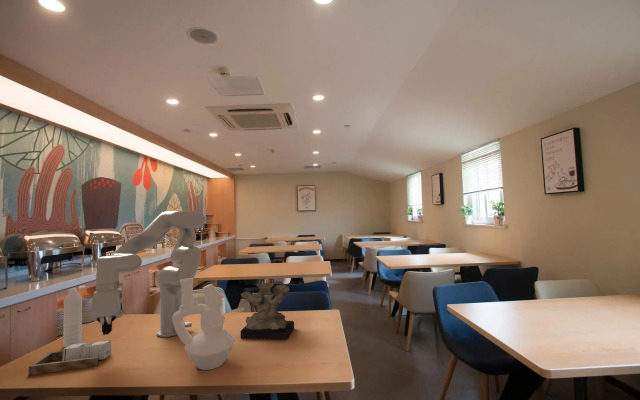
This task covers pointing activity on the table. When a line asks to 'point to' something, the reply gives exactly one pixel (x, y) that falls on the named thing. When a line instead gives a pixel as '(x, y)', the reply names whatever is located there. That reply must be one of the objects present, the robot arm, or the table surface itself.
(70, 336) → the water bottle
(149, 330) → the table surface
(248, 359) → the table surface
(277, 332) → the coral
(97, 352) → the syrup box
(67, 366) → the u rest
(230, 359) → the table surface
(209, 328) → the white sculpture
